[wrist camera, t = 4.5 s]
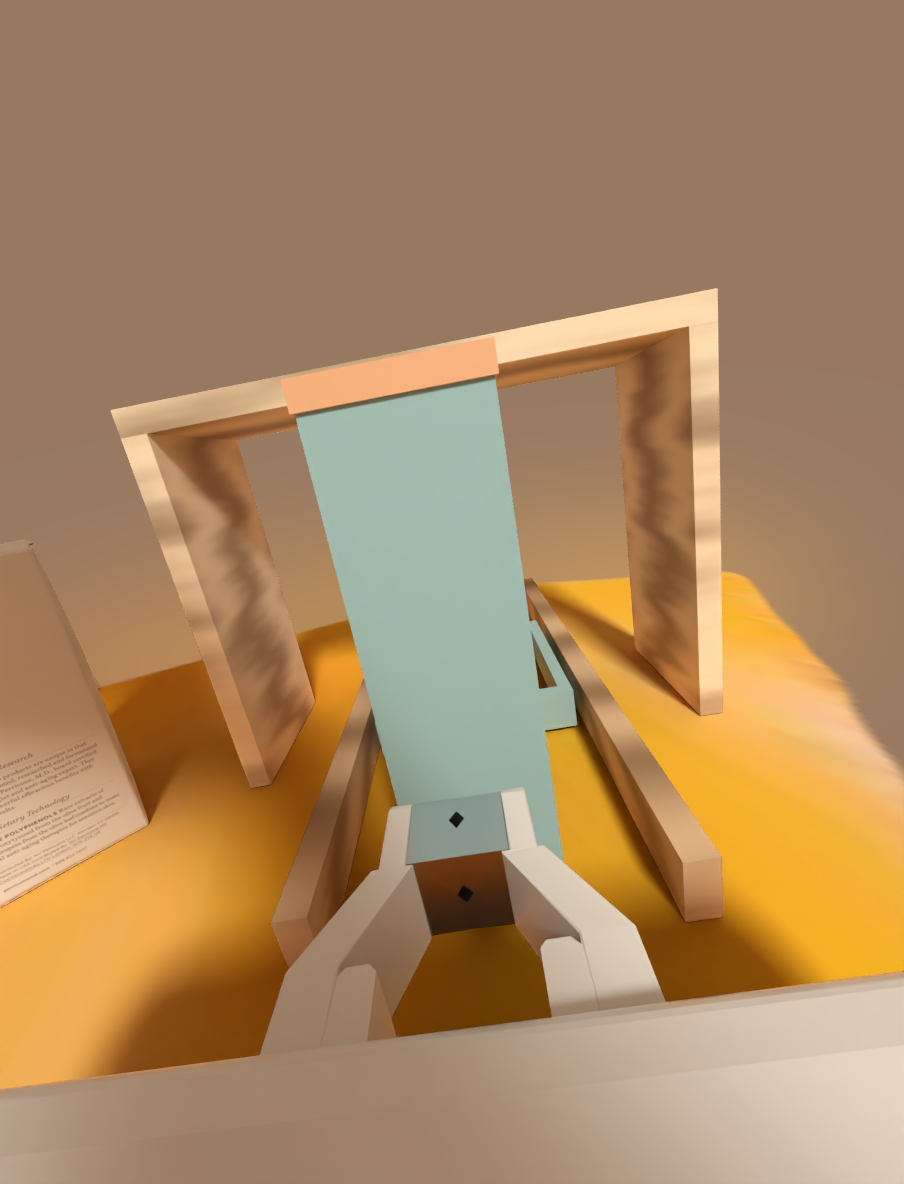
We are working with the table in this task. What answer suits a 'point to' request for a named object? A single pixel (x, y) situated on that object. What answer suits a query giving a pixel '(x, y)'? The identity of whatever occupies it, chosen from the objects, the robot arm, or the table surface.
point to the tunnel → (657, 577)
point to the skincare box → (52, 739)
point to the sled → (435, 573)
